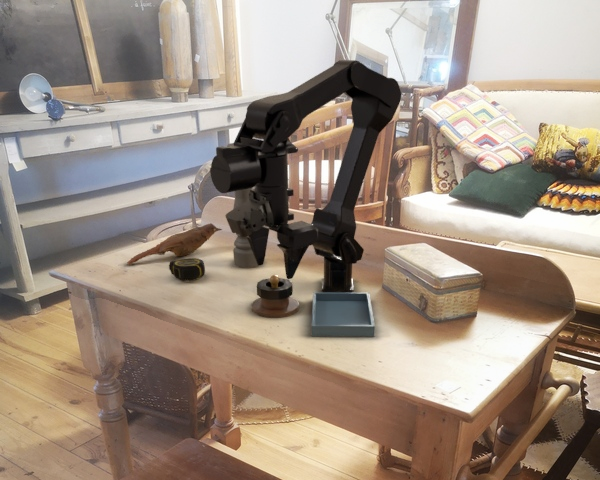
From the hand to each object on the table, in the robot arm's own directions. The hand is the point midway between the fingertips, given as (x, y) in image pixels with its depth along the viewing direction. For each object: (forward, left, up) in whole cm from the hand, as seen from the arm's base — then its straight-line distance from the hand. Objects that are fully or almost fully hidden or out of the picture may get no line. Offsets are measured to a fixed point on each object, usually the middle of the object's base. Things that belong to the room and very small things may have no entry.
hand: (274, 271), depth 109 cm
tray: (+5, +12, -7) cm, 15 cm away
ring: (0, 0, -4) cm, 4 cm away
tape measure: (-16, -20, -7) cm, 27 cm away
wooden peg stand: (0, 0, -7) cm, 7 cm away
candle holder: (-25, -8, -7) cm, 27 cm away
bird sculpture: (-31, -25, -7) cm, 40 cm away
